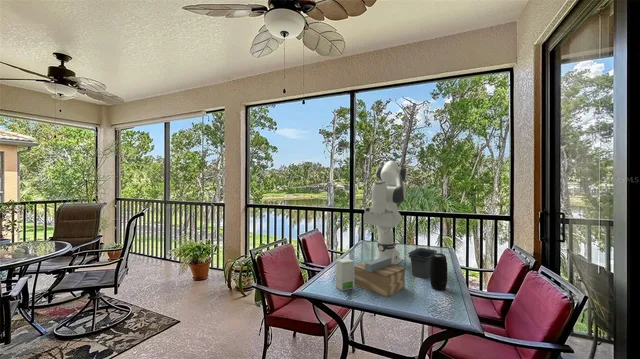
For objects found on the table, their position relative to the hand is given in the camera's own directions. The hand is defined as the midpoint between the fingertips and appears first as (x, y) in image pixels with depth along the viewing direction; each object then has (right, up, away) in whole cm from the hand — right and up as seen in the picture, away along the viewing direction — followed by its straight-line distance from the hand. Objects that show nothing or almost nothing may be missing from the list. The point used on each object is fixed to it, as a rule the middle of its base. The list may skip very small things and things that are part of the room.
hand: (379, 233), depth 154 cm
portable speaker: (+33, -31, -2) cm, 45 cm away
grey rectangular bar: (0, -19, 0) cm, 19 cm away
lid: (0, -20, 0) cm, 20 cm away
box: (0, -30, 0) cm, 30 cm away
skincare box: (-20, -31, -2) cm, 37 cm away
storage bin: (+32, -31, +22) cm, 50 cm away
